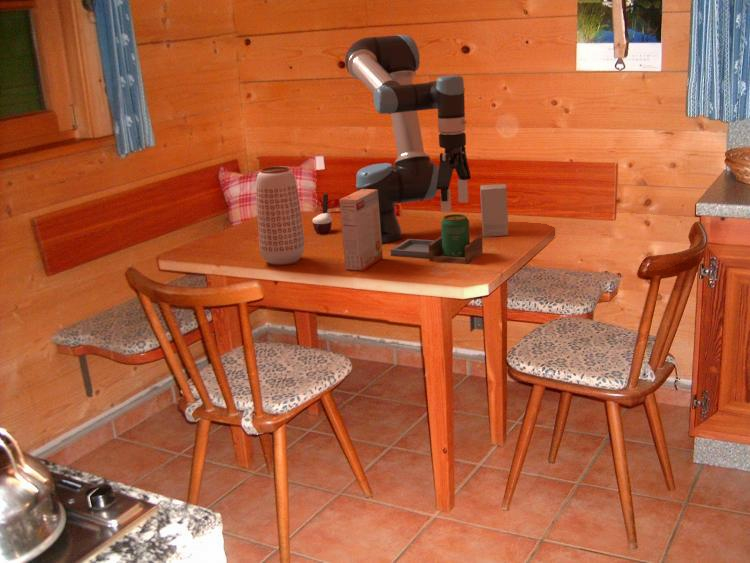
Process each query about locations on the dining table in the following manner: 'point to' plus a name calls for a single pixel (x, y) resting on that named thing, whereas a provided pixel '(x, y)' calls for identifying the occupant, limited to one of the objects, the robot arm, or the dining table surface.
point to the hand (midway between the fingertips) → (455, 207)
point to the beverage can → (455, 235)
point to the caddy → (470, 254)
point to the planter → (279, 216)
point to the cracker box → (361, 229)
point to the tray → (412, 248)
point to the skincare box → (494, 210)
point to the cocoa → (323, 218)
